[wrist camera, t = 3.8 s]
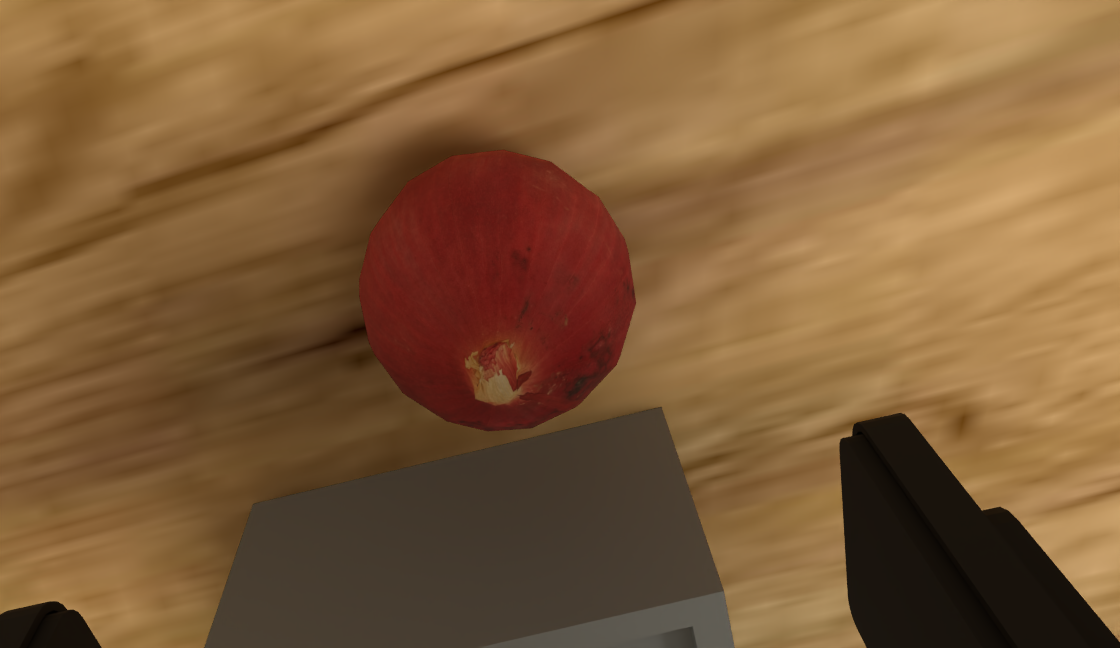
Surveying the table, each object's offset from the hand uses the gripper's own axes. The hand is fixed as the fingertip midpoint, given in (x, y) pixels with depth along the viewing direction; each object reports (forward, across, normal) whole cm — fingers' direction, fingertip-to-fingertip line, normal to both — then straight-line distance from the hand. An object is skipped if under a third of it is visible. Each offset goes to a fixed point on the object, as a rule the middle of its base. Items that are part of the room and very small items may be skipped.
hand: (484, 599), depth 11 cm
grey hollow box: (+13, +2, +13) cm, 19 cm away
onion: (+13, 0, 0) cm, 13 cm away
